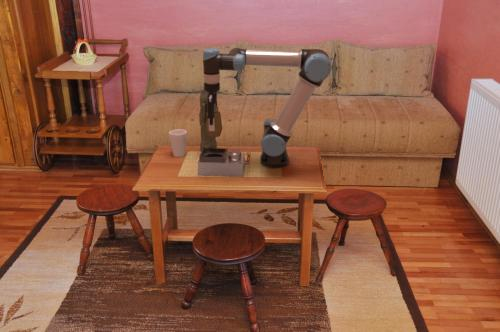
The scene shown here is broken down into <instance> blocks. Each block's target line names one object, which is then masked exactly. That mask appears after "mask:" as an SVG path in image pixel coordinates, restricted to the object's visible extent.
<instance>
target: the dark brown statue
mask: <svg viewBox="0 0 500 332" xmlns="http://www.w3.org/2000/svg"><path fill="white" fill-rule="evenodd" d="M208 94H209V92H207V91H205V90H203V91H201V92H200V95H199V108H200V109H199V110H200V111H199V114H198V118H199V120H198V121H199V126H200V145H199V146H200V153H201V152H202V150H203V148H218V145H217V144H218V142H217V139H216V138H217V137H209V136H208V133H207V131H206V121H207V112H208V99H207V98H208Z"/></svg>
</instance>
